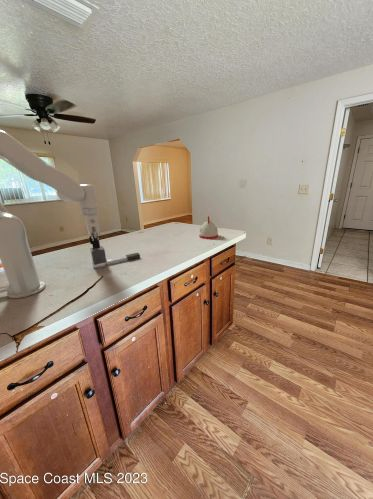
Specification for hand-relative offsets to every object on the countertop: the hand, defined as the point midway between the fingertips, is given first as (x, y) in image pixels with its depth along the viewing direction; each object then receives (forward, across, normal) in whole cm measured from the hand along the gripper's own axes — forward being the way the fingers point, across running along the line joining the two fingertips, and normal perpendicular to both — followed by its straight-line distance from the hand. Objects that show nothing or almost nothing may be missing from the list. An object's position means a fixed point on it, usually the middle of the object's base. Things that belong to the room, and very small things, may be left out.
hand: (95, 246), depth 103 cm
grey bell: (+9, +12, -80) cm, 81 cm away
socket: (+9, 0, -1) cm, 9 cm away
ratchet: (+11, 0, -10) cm, 15 cm away
